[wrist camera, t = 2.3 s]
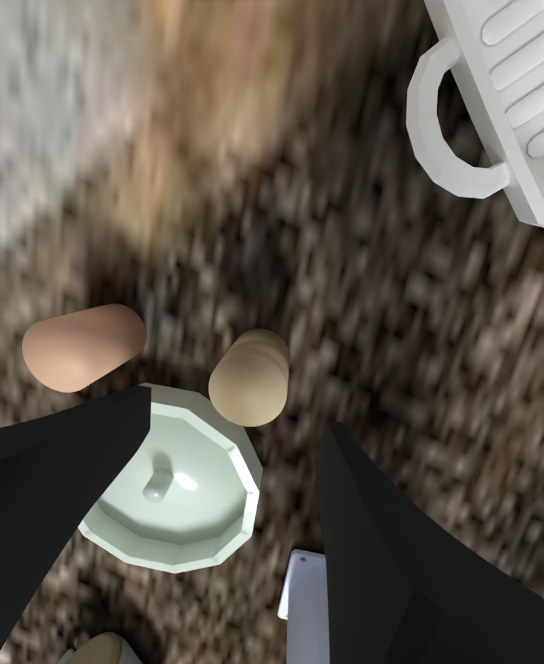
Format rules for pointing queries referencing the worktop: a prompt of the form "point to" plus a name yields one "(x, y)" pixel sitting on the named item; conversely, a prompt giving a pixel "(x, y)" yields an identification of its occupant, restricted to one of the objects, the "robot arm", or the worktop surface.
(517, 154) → the pan
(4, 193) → the worktop surface
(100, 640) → the ceramic mug
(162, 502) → the groove tray
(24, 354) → the peach rounded oval piece
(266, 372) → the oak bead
